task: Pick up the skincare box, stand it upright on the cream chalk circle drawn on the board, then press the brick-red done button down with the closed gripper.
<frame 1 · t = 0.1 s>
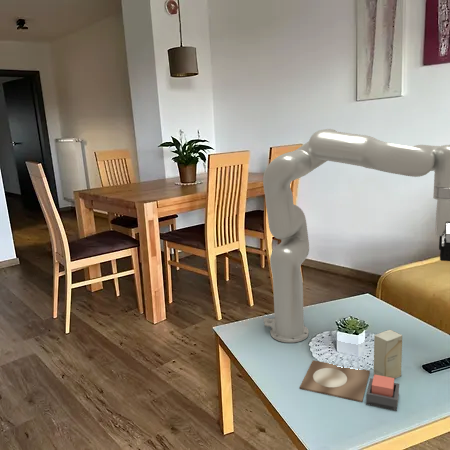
hand: (445, 255, 116), 31 cm above the table, tool pointing down, fingers open, 9 cm apart
button housing: (382, 399, 107), on the table
done button: (383, 386, 106), point 4 cm above the table, slide at 0.0 cm
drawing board: (335, 380, 116), on the table
skincare box: (387, 376, 116), on the table
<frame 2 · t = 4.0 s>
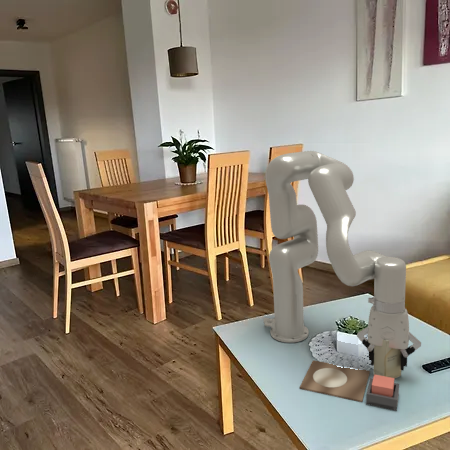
hand: (387, 364, 116), 3 cm above the table, tool pointing down, fingers closed on skincare box, 7 cm apart
skincare box: (387, 376, 116), on the table, touching gripper
everything else where it was.
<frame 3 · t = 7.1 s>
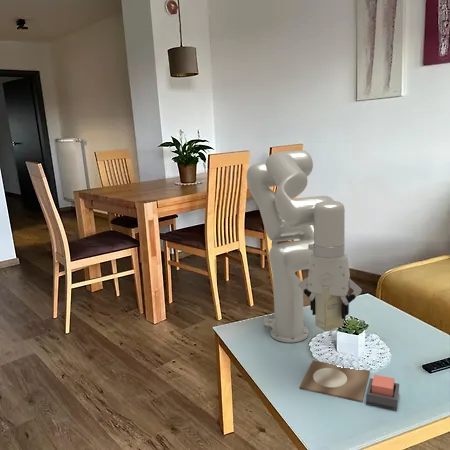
hand: (329, 314, 112), 19 cm above the table, tool pointing down, fingers closed on skincare box, 7 cm apart
skincare box: (329, 326, 113), point 16 cm above the table, touching gripper
everything else where it was.
when the fingers open (5 cm above the table, at t = 10.5 s): skincare box drops 1 cm, resting on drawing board.
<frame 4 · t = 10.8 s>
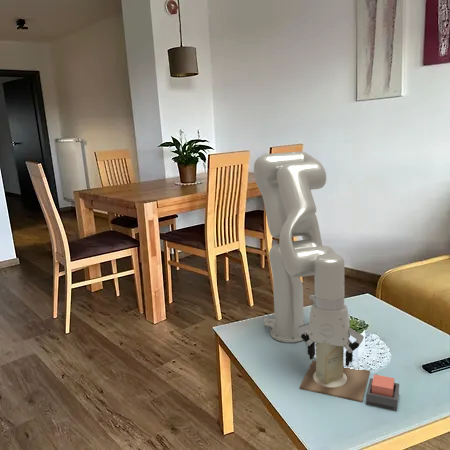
hand: (329, 360, 115), 6 cm above the table, tool pointing down, fingers open, 9 cm apart
skincare box: (329, 377, 116), resting on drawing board
everything else where it was.
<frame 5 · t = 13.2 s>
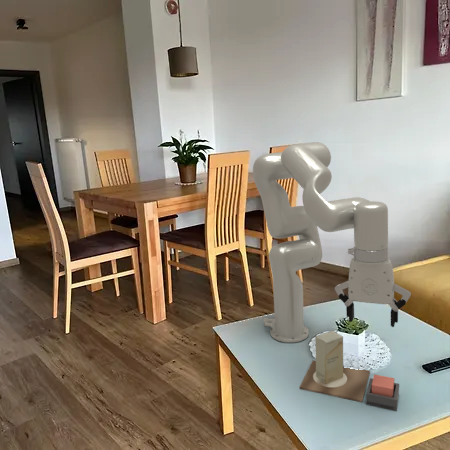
hand: (371, 322, 104), 20 cm above the table, tool pointing down, fingers open, 9 cm apart
nothing on the table moved.
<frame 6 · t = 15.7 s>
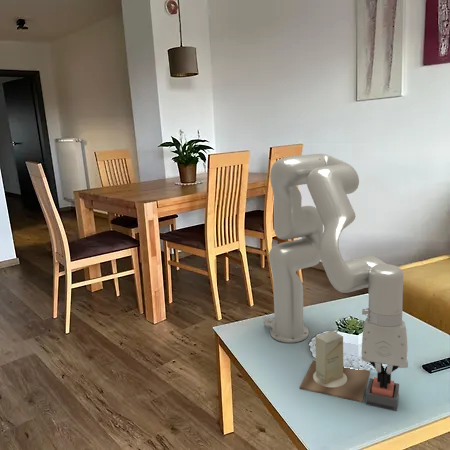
hand: (384, 384, 106), 4 cm above the table, tool pointing down, fingers closed
done button: (383, 388, 106), point 3 cm above the table, slide at 0.8 cm, touching gripper
everything else where it was.
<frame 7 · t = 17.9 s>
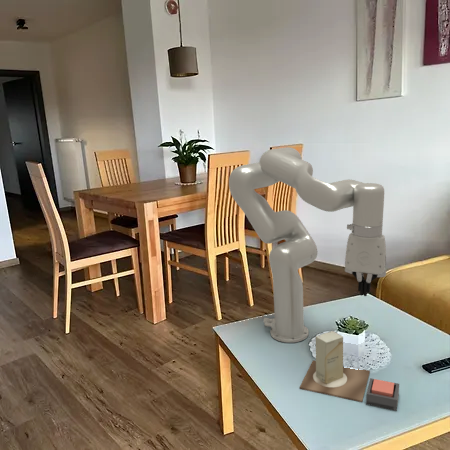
hand: (364, 293, 118), 21 cm above the table, tool pointing down, fingers closed
done button: (382, 390, 106), point 2 cm above the table, slide at 1.3 cm
everything else where it was.
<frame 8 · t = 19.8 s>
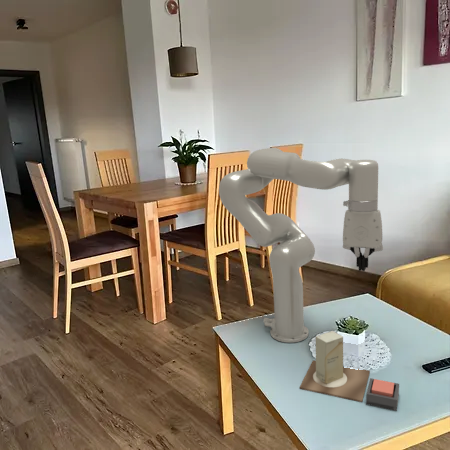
hand: (362, 269, 121), 27 cm above the table, tool pointing down, fingers closed
nothing on the table moved.
at the end: skincare box 0.1 cm from the target spot on the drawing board, point 0.4 cm above the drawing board's base; skincare box tilted 0°; done button slide at 1.3 cm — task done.
